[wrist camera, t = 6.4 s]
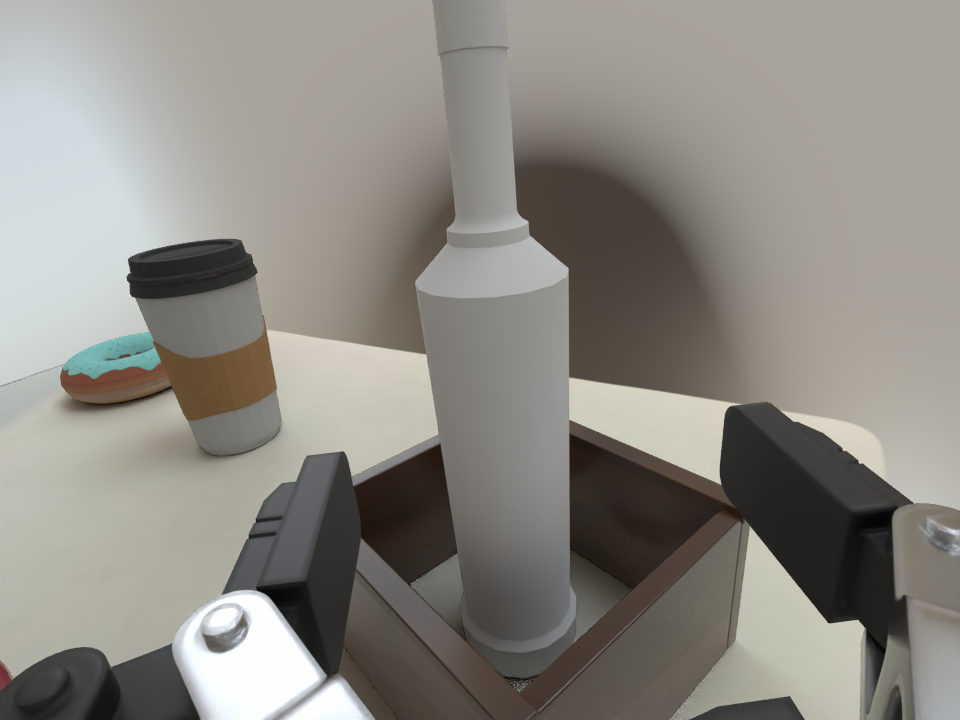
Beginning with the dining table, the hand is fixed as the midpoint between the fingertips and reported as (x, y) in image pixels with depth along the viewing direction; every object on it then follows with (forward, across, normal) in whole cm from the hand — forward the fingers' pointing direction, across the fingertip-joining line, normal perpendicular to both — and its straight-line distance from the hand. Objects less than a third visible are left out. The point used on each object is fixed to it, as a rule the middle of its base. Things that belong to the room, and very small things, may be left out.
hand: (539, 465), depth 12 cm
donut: (+44, +34, +15) cm, 58 cm away
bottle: (+8, 0, +15) cm, 17 cm away
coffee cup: (+30, +19, +15) cm, 39 cm away
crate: (+8, 0, +14) cm, 17 cm away
